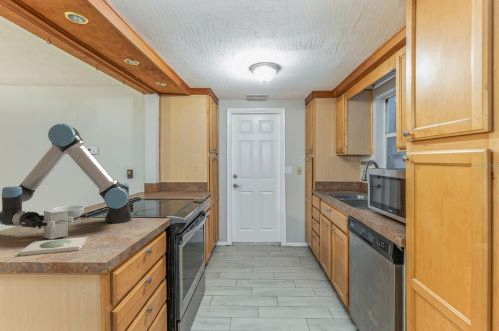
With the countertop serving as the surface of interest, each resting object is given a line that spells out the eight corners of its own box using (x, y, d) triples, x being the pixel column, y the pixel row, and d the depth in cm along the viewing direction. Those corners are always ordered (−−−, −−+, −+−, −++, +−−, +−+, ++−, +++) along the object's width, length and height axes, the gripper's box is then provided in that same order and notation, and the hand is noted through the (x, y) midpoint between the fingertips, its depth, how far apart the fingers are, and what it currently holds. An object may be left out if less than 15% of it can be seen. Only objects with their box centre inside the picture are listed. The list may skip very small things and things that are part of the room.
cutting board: (86, 240, 125) (86, 236, 124) (79, 250, 111) (79, 246, 111) (34, 244, 117) (34, 240, 117) (19, 255, 104) (19, 251, 104)
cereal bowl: (46, 219, 164) (46, 208, 164) (74, 215, 179) (74, 204, 179) (61, 223, 156) (61, 211, 156) (89, 217, 171) (89, 206, 171)
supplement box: (50, 239, 122) (50, 212, 122) (43, 237, 126) (43, 210, 125) (68, 235, 128) (68, 209, 128) (61, 233, 132) (60, 208, 132)
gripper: (48, 221, 142) (83, 224, 136) (2, 232, 121) (40, 236, 115) (48, 207, 141) (82, 210, 136) (2, 216, 121) (40, 219, 115)
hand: (63, 222), depth 126 cm, fingers closed on supplement box, 9 cm apart
